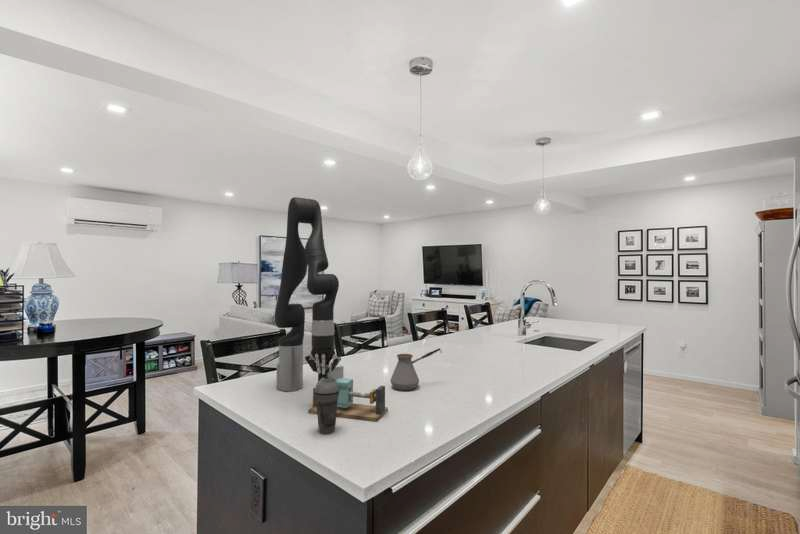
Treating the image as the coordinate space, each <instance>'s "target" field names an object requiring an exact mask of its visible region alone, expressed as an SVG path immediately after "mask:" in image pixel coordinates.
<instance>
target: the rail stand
mask: <svg viewBox="0 0 800 534" xmlns="http://www.w3.org/2000/svg"><path fill="white" fill-rule="evenodd" d="M314 391H315V387H314V388H312V407H310V408H308V411H307V414H310V415H317V403H316V398H315V393H314ZM348 396H351V397H353V398H354V397H355V398H361V399H369V404H363V403H354V402H353V403H352V404H351V405H349V406H348V407H347V408H344V407H337V413H336V418H343V419H349V420H350V419H351V420H359V421H365V422H366V421H367V422H375V423H378V422H379V421H380V420H381V419H382V418H383V417H384V416H385V415H386V413H388V412H389V408H388V406H387V407H386V386H385V385H379V386H378V387H377V388H373V389H372V390H371V391H370V392H369V393H368V392H367V393H366V392H358V391H353V392H350V391H348ZM374 403H375V405H373V404H374Z"/></svg>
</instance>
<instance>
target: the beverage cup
mask: <svg viewBox="0 0 800 534" xmlns="http://www.w3.org/2000/svg"><path fill="white" fill-rule="evenodd" d="M331 367H332V361H330V369H329V377H323V378H321V379H320V380H319V381H318V380H317V382H316V385H315V387H314V388H315V391H314V393H315V398H316V403H317V414H316V415H317V416H316V417H317V426H318V433H319V434H322V435H331V434H333V433H335V430H336V429H335V428H336V425H337V424H336V423H337V421H336V420H337V417H336V413H337V401H338V396H339V391H340V390H339V386H338V383H337V381H336V380H335V379H334V378H332V377H330V376H331Z"/></svg>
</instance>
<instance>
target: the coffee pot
mask: <svg viewBox="0 0 800 534" xmlns="http://www.w3.org/2000/svg"><path fill="white" fill-rule="evenodd" d="M437 352H440V353H441V354H443V350H442V349H441V348H440V347H439V348H437V349H434V350H433V351H428V352H427V353H425V354H423V355H422V356H420V357H418V358H416V359H414V360H412V359H413V354H410V353H400V354H398V353H397V355H396V357H397V364H396V365H395V368H394V371H393V373H392V375H391V378H390V384H391V385H392V386H393V387H394V389H396V390H399V391H412V390H414V389H415V388H416V387H417V386H418V385H419V382H420V379H419V377H418V374H417V371H416V370H415V366H414V364H415V363H416V362H417V363H418V361H420V360H423V359H425V358H427V357H430V356H431V355H434V354H435V353H437Z"/></svg>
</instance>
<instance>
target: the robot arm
mask: <svg viewBox="0 0 800 534" xmlns="http://www.w3.org/2000/svg"><path fill="white" fill-rule="evenodd" d="M322 218H323V217H322V210H321V206H320V203H319V201H317V200H316V199H313V198H312V199H311V198H304V197H297V196H294V197H292V198H290V200H289V203H288V208H287V219H286V220H287V221H286V236H285V237H286V238H285V245H284V252H283V259H282V266H281V276H280V277H281V278H280V286H279V291H278V296H277V301H276V305H275V310H274V324H275V326H276V327H277V328H278V329H288V328H291V329H290V331H289V332H287V333H286V334H283V335H282V336H281V337H279V339H278V363H277V364H276V390H279V391H282V392H294V391H299V390H302V388H303V387H304V384H303V383H304V360H305V361H306V363H307V364H308V366H309V367H310V369H311V370H312V371H313V373H316V374H317V382H318V381H319V380H320V379H321V378H323V377H328V373H329V369H330V367H329V365H330V362H332V367H331V372H332V371H333V370H334V368H335V367H336V366H337V364H340V362H341V361H342V358H341V357H340V356H337V355H336V351H335V323H334V322H335V320H334V317H335V316H334V315H335V314H334V310H335V309H334V308H335V302H336V300H337V299H336V298H337V294H338V291H339V287H340V283H339V282H340V281H339V278H338V277H337V276H336V275H335V274H334V273H321V272H324V271H326V270H327V269H329V261H328V256H327V252H326V248H325V242H324V231H323V230H324V229H323V220H322ZM299 224H309V225H311V233H310V235H309V238H308V239H307V241H306V244H305V246H304V244H303V243H302V240H301V237H300V233H299ZM306 275H307V280H306V289H307V291H308V293H309V294H311V295H313V296H321V295H322V296H324V295H325V296H324V298H323V299H322V300H320V301H316V302H314V303H313V304H312V311H311V312H312V313H311V314H312V316H311V317H312V318H311V319H312V322H311V351H310V353H309V355H307V356H304V338H305V337H304V336H305V323H306V322H305V320H306V314H305V308H304V306H303V304H301V303H290V300H291V298H292V295H293V293H294V292H295V291H296V289H297V288H298V287H299V285H300V284H301V283H302V282H303V280H304V279H305V277H306Z"/></svg>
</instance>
